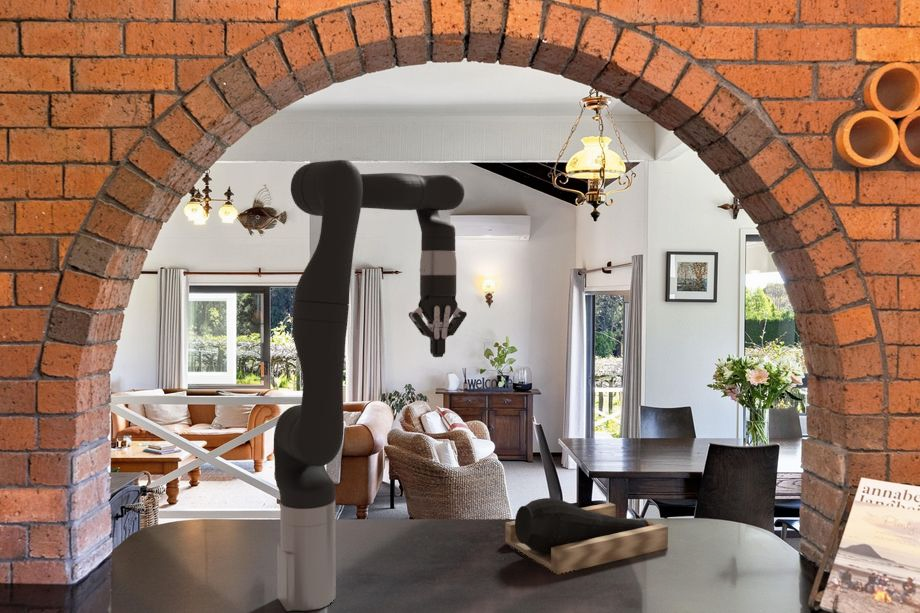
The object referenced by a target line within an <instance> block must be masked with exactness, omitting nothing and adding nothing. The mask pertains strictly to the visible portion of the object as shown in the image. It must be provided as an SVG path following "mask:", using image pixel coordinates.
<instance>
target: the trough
mask: <svg viewBox="0 0 920 613" xmlns="http://www.w3.org/2000/svg"><path fill="white" fill-rule="evenodd" d="M580 508H581V509H584V510H587V511H591V512H594V513H598V514H603V515H608V516H614V517H617V516H616V514H617V512H616V510H617V505H616V504H615V503H612V502H607V503H606V502H605V503H600V504H597V505H596V504H595V505H594V504H593V505H590V506H585V507H580ZM668 540H669V526H668V525H665V524H663V523H658V524H654V525H652V526H648V527H643V528H639V529H634V530H630V531H625V532H620V533H616V534H611V535H607V536H602V537H597V538H593V539H588V540H584V541H579V542H574V543H570V544H565V545H561V546H556V547H551V554H545V553H540V552H537V551H534V550H532V549H530V548H529V547H528V546H527V545H525V544H522V543H520V542H519V540H518V539H517V536H516V531H515V520H511V521H506V522H505V542H507V543H509V544H510V545H512V546H514V547H515V548H516V549H518V550H520V551H521V552H523V553H524V554H526V555H527V556H529V557H530V558H532V559H534V560H536V561H537V562H539V563H540V564H542V565H544V566H545V567H547V568H549V569H550V570H551V571H550V570H549V569H548V570H549V571H550V572H552V571H553V572H552V573H554V574H555V573H556V575H562V574H561V573H563V574H566V573H565V572H567V573H570V572H569V571H571V572H574V571H573V570H575V571H578V570H583V569H586V568H591V567H594V566H601V565H603V564H607V563H611V562H612V563H613V562H617V561H619V560H621V561H622V560H624V559H628V558H633V557H636V556H641V555H644V554H649V553H654V552H658V551H662V550H666V549H668V548H669V547H668V546H669V541H668ZM524 554H523V555H524ZM527 556H526V557H527ZM529 557H528V558H529ZM530 558H529V559H530ZM532 559H531V560H532ZM534 560H533V561H534ZM537 562H536V563H537ZM539 563H538V564H539ZM540 564H539V565H540ZM542 565H541V566H542ZM544 566H543V567H544ZM545 567H544V568H545ZM547 568H546V569H547ZM582 568H583V569H582Z"/></svg>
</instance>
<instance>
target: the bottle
mask: <svg viewBox="0 0 920 613" xmlns="http://www.w3.org/2000/svg"><path fill="white" fill-rule="evenodd" d="M581 508H582V507H578V506H577V505H575V504H572V503H570V502H567V501H565V500H561V499H559V498H553V497H552V498H551V497H544V498H538V499H533V500H531V501H530V502H528V503H527V504H525V505H522V506H520V507H519V508H518V509H517V512H516V515H515V520H514V521H515V531H516V536H517V539H518V540H519V542H520V543H522V544H525V545H527V546H528V547H529V548H530V549H532V550H534V551H537V552H540V553H545V554H551V547H556V546H561V545H565V544H570V543H574V542H579V541H584V540H588V539H593V538H597V537H602V536H607V535H611V534H616V533H620V532H625V531H630V530H634V529H639V528H643V527H648V526H652V525H655V524H654V523H653V522H652V521H647V520H646V519H634V518H633V519H632V518H627V517H625V518H624V517H619V516H616V517H614V516H608V515H603V514H598V513H594V512H591V511H587V510H584V509H581Z"/></svg>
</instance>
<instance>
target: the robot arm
mask: <svg viewBox="0 0 920 613" xmlns="http://www.w3.org/2000/svg"><path fill="white" fill-rule="evenodd" d="M290 193H291V194H290V195H291V197H292V200H293V203H294V204H295V205H296V207H297V208H298V209H299V210H301V211H302V212H304V213H306V214H308V215H311V216H316V217H317V216H319V217H321V226H320V234H319V237H318V238H319V239H318V243H317V245H316V248H315V250H314V252H313V254H312V257H311V258H310V259H309V262H308V263H307V265H306V267H305V269H304V270H303V272H302V274H301V276H300V278H299V279H298V282H297V284H296V287H295V291H294V298H293V307H292V308H293V309H292V320H291V321H292V323H291V324H292V326H291V328H292V337H293V342H294V346H295V350H296V355H297V357H298V362H299V365H300V369H301V376H302V396H301V397H302V398H301V404H299V405H298V404H297V405H293V406H291V407H288V408H287V409H286V410H284V411H283V412H282V414H281V415H280V416H279V418H278V419H277V422H276V425H275V428H274V432H273V457H274V459H273V460H274V475H275V482H276V487H277V489H278V492H279V499H280V505H279V507H280V508H279V510H280V527H279V528H280V542H278V544H277V546H276V554H277V555H276V563H277V564H276V570H277V571H276V572H277V576H276V577H277V578H276V582H277V589H276V590H277V592H276V593H277V599H278V601H279V602H280V604H281V605H282V606H283V608H284V609H285V611H286V612H291V611H302V612H303V611H314V610H318V609H323V608H324V607H327V606H329V605H330V603H331V602H332V603H333V602H334V601H335V600H334V599H336V589H337V587H336V586H337V585H336V584H337V583H336V486H335V482H334V481H333V480H332V478H331V476H330V475H329V474H328V472H327V470H326V467H325V466H326V465H328V464H329V463H331V462H332V461H333V460H334V459H335V458H336V457H337V455H338V453H339V452H340V449H341V447H342V444H343V439H344V430H345V429H344V425H345V424H344V423H345V421H344V419H345V418H344V388H343V386H344V370H345V358H346V357H345V353H346V338H347V330H348V320H349V308H350V305H349V304H350V289H351V287H350V286H351V276H352V270H353V269H352V267H353V260H354V249H355V242H356V238H357V232H358V228H359V227H358V226H359V220H360V215H361V210H362V209H375V210H378V209H380V210H391V211H395V210H396V211H415V212H416V215H417V219H418V223H419V228H420V231H421V232H420V233H421V239H420V240H421V241H420V242H421V243H420V244H421V246H420V248H421V250H420V252H421V253H420V260H419V261H420V262H419V295H420V299H419V302H418V307H417V308H416V309H415V310H414V311H410V312H408V317H409V318H410V320H411V322H412V323H413V324H414V326H415V327H416V328H417V329H418V331H419V333H420V334H421V335H422V336H423V337H424V336H425V337H427V338H429V342H430V343H429V348H430V349H429V353H430V355H432V357H433V358H443V357H444V355H445V354H446V339H447V338H448V337H451V336H454V335H455V333H456V332H457V331H458V329H459V328H460V327H461V325H462V324H463V322H464V320H465V318H466V317H468V316H467V315H468V314H467V312H466V311H463V310H461V308H460V307H458V304H459V303H458V302H457V299H456V296H457V257H456V228H455V226H454V224H453V223H450V222H447V221H442V219H441V217H440V214H439V211H451V210H455V209H456V208H458V207H459V206H460V205H461V204H462V203H463V201H464V198H465V188H464V185H463V182H462V181H461V180H460V179H459V178H457V177H456V176H454V175H451V174H432V175H429V174H428V175H423V174H421V175H420V174H419V175H418V174H413V173H404V172H403V173H402V172H401V173H399V172H382V173H360V170H359V169H358V168H357V166H356V165H355V164H354V163H353V162H352V161H349V160H346V159H334V160H333V159H332V160H324V161H322V160H321V161H313V162H310V163H307V164H305V165H302V166H301V167H299V168H298V169H297V170H296V171H295V173H294V174H293V175H292V178H291V182H290ZM423 318H425V320H426V322H425V321H424V320H423ZM333 600H334V601H333ZM332 603H331V604H332Z"/></svg>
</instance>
